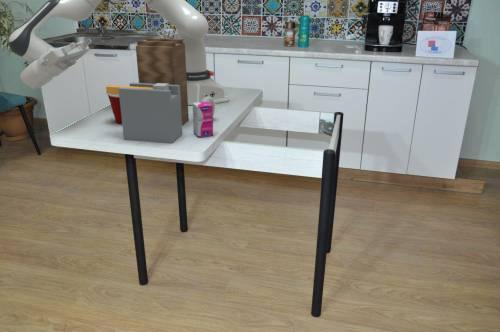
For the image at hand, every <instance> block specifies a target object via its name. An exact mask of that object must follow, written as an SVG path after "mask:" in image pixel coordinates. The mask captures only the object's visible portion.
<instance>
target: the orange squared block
mask: <svg viewBox="0 0 500 332" xmlns="http://www.w3.org/2000/svg"><path fill="white" fill-rule="evenodd" d="M121 87H123V88H141V89H158V90H169V84H166V83H157V84H155V85H153V88H151V87H133V86H130V85H129V86H128V85H115V84H114V85H112V84H110V85H106V86H105V89H106V92H107V93H106V95H107V94H118V95H119V88H121Z"/></svg>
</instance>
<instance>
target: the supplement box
mask: <svg viewBox="0 0 500 332" xmlns="http://www.w3.org/2000/svg"><path fill="white" fill-rule="evenodd" d="M192 124H193V125H192V126H193V127H192V128H193V131H192V132H193V135H195V136H196V137H197V138H198V139H199V138H204V137H205V138H206V137H213V136H214V115H213V105H211V104H210V103H209V102H197V103H193V105H192Z"/></svg>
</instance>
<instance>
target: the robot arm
mask: <svg viewBox="0 0 500 332" xmlns="http://www.w3.org/2000/svg"><path fill="white" fill-rule="evenodd" d="M102 1H103V0H48V1H46V2H45V3H44V4H43V5H41V7H39V8H38V10H36V12H34V14H32V15H31V16H30V17H29V18H28V19H27V20H26V21H25V22H24V23H23V24H21V25H20V26H19V27H18V28H17V29H15V30H14V31H13V32H12V33H11V34H10V36H9V37H8V39H7V40H8V41H7V42H8V46H9V49H10V52H12V53H13V54H15V55H17V56H19V57H21V58H23V59H25V60H26V61H28V62H29V63H30V64H28V65H27V66H26V67H25V68H24V69H23V70H22V71H21V72H20V74H19V77H20V80H21V82H22V83H23V84H24V85H25V86H27V87H28V88H31V89H35V90H36V89H38V88H39V89H40V88H41V87H43V86H45V85H47V84H48V83H49V82H51V81H52V80H53V79H54V78H56V77H57V76H58V77H59V75H61V74H62V73H64V72H65V71H67V70H68V69H69V68H70V67H72V66H73V65H76V64H77V61H78V60H79V59H81V58H82V57H83V56H85V54H87V53H88V51H90V47H89V45H90V44H92V40H91V38H86V39H84V40H83V41H79V42H76V41H75V42H74V41H73V42H71V43H69V44H67V45H64V46H61V47H57V48H55V46H53V45H51V44H50V43H49V42H46V41H45V40H43V39H42V38H41V37H39V36H38V35H37V34H36V33H37V31H39V30H40V29H41V28H42V27H43V26H44V25H45V24H46V23H47V22H48V21H49V20H50V19H52V18H54V17H60V18H63V19H66V20H69V21H72V22H82V21H83V22H84V21H85V20H87V19H89V18H90V17H91V15H92V14H93V12H94V11H95V10H96V8H97V7H98V5H99V4H100V3H101V2H102ZM105 1H106V2H108V3H110V4H114V5H120V4H124V3H127V2H128V1H129V0H105ZM142 1H143V2H145V4H147V5H148V6H149V7H150V8H151V9H152V10H154V11H155V12H156V13H157V14H158V15H160V16H161V17H162V18H163V19H164V20H165V21H167V22H168V23H170V25H172V26H173V27H174V28H176V29H177V30H176V31H177V39H183V43H185V56H186V75H187V95H188V106H193V103H197V102H201V101H202V99H203V98H204V97H207V96H209V97H211V98H212V99H213V101H214V105H216V104H221V103H226V102H227V103H228V102H230V98H229V96H227V95H226V94H225V91H224V88H223V86H222V85H221V84H220V83H218V82H217V81H216V80H215V79H213V78H212V77H214V76H215V72H214V71H212V70H208V69H207V52H206V47H205V41H204V38H205V37H206V36H207V34H208V32H209V30H210V29H209V28H210V27H209V22H208V20H207V18H206V16H205V15H203V14H202V13H201V12H200V11H198V10H197V9H196V8H195V7H194V6H192V5H191V4H190V3H188V2H187V0H142Z"/></svg>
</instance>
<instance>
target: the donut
mask: <svg viewBox="0 0 500 332" xmlns="http://www.w3.org/2000/svg"><path fill="white" fill-rule="evenodd" d="M201 102H209V103H210V104H211V105H213V116H214V114H215V105H216V104H214V101H213V99H212V98H211V97H209V96H207V97H204V98H203V99H202V101H201Z"/></svg>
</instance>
